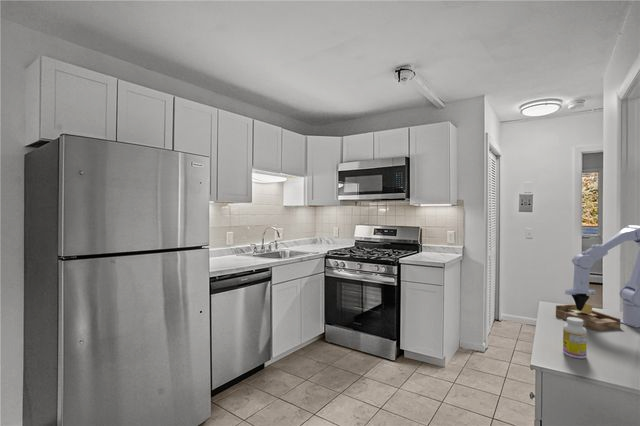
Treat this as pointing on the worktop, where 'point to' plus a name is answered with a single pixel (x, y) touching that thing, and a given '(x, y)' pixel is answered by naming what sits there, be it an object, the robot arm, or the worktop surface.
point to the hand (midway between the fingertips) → (579, 310)
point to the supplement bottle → (575, 338)
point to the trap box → (588, 317)
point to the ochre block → (586, 309)
